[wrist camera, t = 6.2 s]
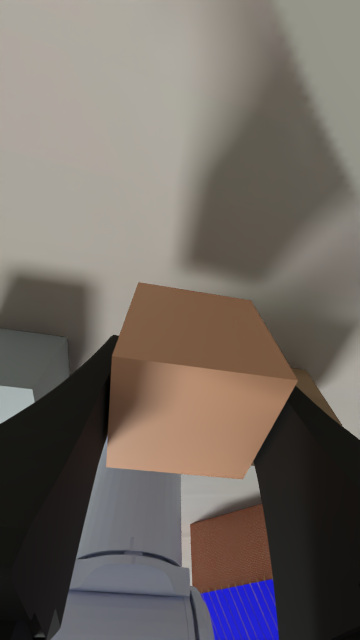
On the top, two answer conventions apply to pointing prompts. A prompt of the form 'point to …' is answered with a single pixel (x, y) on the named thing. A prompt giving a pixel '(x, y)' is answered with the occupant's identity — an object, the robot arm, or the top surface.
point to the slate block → (29, 368)
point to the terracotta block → (193, 384)
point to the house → (235, 574)
